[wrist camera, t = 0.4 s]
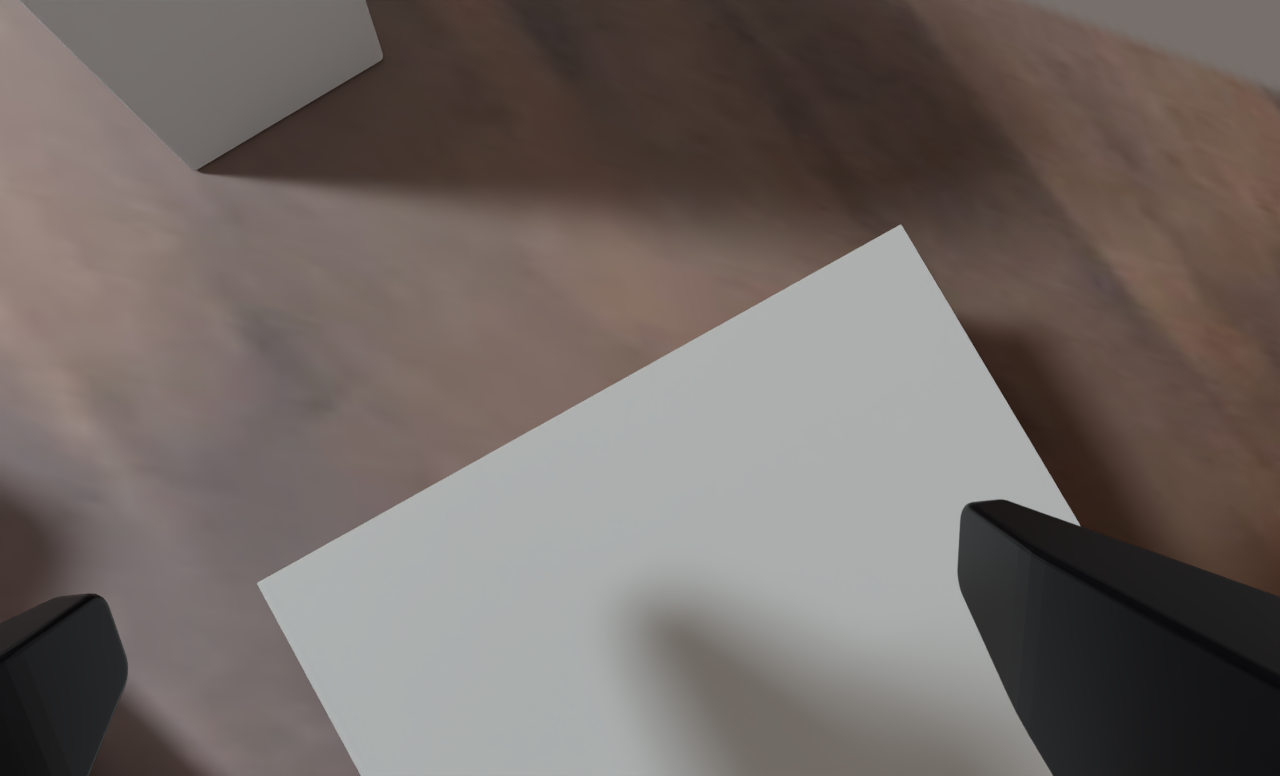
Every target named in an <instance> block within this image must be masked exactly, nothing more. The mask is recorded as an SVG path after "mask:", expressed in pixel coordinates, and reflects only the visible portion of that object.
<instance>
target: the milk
mask: <svg viewBox="0 0 1280 776" xmlns="http://www.w3.org/2000/svg"><path fill="white" fill-rule="evenodd" d="M19 1H20V2H21V3H22V4H23V5H24V6H25V7H26V8H27V9H28V10H29V11H30V12H31V13H32V14H33V15H34V16H35V17H36V18H37V19H38V20H39V21H40V22H41V23H42V24H43V25H44V26H45V27H46V28H47V29H48V30H49V31H50V32H51V33H52V34H53V35H54V36H55V37H56V38H57V39H59V40H60V41H61V42H62V43H63V44H64V45H65V46H66V47H67V48H68V49H69V50H70V51H71V52H72V53H73V54H74V55H75V56H76V57H77V58H78V59H79V60H80V61H81V62H82V63H83V64H84V65H85V66H86V67H87V68H88V69H89V70H90V71H91V72H92V73H93V74H94V75H95V76H96V77H97V78H98V79H99V80H100V81H101V82H102V83H103V84H104V85H105V86H106V87H107V88H108V89H109V90H110V91H111V92H112V93H113V94H115V95H116V96H117V97H118V98H119V99H120V100H121V101H122V102H123V103H124V104H125V105H126V106H127V107H128V108H129V109H130V110H131V111H132V112H133V113H134V114H135V115H136V116H137V117H138V118H139V119H140V120H141V121H142V122H143V123H144V124H145V125H146V126H147V127H148V128H149V129H150V130H151V131H152V132H153V133H154V134H155V135H156V136H157V137H158V138H159V139H160V140H161V141H162V142H163V143H164V144H165V145H166V146H167V147H168V148H170V149H171V150H172V151H173V152H174V153H175V154H176V155H177V156H178V157H179V158H180V159H181V160H182V161H183V162H184V163H185V164H186V165H187V166H188V167H189V168H190V169H192V170H197V169H199V168H201V167H203V166H204V165H206V164H208V163H209V162H211V161H213V160H214V159H216V158H218V157H219V156H221V155H223V154H225V153H226V152H228V151H230V150H231V149H233V148H235V147H236V146H238V145H240V144H241V143H243V142H245V141H246V140H248V139H250V138H251V137H253V136H255V135H256V134H258V133H260V132H262V131H263V130H265V129H267V128H268V127H270V126H272V125H273V124H275V123H277V122H278V121H280V120H282V119H283V118H285V117H287V116H288V115H290V114H292V113H294V112H295V111H297V110H299V109H300V108H302V107H304V106H305V105H307V104H309V103H310V102H312V101H314V100H315V99H317V98H319V97H320V96H322V95H324V94H326V93H327V92H329V91H331V90H332V89H334V88H336V87H337V86H339V85H341V84H342V83H344V82H346V81H347V80H349V79H351V78H352V77H354V76H356V75H357V74H359V73H361V72H363V71H364V70H366V69H368V68H369V67H371V66H373V65H374V64H376V63H378V62H379V61H381V60H382V59H383V53H382V50H381V47H380V44H379V40H378V37H377V34H376V31H375V28H374V25H373V22H372V19H371V16H370V13H369V10H368V7H367V3H366V0H19Z"/></svg>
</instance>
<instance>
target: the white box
mask: <svg viewBox="0 0 1280 776" xmlns="http://www.w3.org/2000/svg"><path fill="white" fill-rule="evenodd" d="M996 499H1004V500H1008V501H1010V502H1013V503H1016V504H1019V505H1022V506H1024V507H1027V508H1030V509H1033V510H1036V511H1039V512H1041V513H1044V514H1047V515H1050V516H1053V517H1056V518H1058V519H1061V520H1064V521H1067V522H1070V523H1073V524H1075V525H1078V526H1080V524H1079V522H1078V521H1077V519H1076V517H1075V516H1074V514H1073V512H1072V511H1071V509H1070V507H1069V506H1068V504H1067V502H1066V500H1065V499H1064V497H1063V495H1062V494H1061V492H1060V490H1059V489H1058V487H1057V485H1056V484H1055V482H1054V480H1053V479H1052V477H1051V475H1050V474H1049V472H1048V470H1047V469H1046V467H1045V465H1044V464H1043V462H1042V460H1041V458H1040V457H1039V455H1038V453H1037V452H1036V450H1035V448H1034V447H1033V445H1032V443H1031V442H1030V440H1029V438H1028V437H1027V435H1026V433H1025V432H1024V430H1023V428H1022V427H1021V425H1020V423H1019V422H1018V420H1017V418H1016V417H1015V415H1014V413H1013V411H1012V410H1011V408H1010V406H1009V405H1008V403H1007V401H1006V400H1005V398H1004V396H1003V395H1002V393H1001V391H1000V390H999V388H998V386H997V385H996V383H995V381H994V380H993V378H992V376H991V375H990V373H989V371H988V370H987V368H986V366H985V364H984V363H983V361H982V359H981V358H980V356H979V354H978V353H977V351H976V349H975V348H974V346H973V344H972V343H971V341H970V339H969V338H968V336H967V334H966V333H965V331H964V329H963V328H962V326H961V324H960V322H959V321H958V319H957V317H956V316H955V314H954V312H953V311H952V309H951V307H950V306H949V304H948V302H947V301H946V299H945V297H944V296H943V294H942V292H941V291H940V289H939V287H938V286H937V284H936V282H935V281H934V279H933V277H932V275H931V274H930V272H929V270H928V269H927V267H926V265H925V264H924V262H923V260H922V259H921V257H920V255H919V254H918V252H917V250H916V249H915V247H914V245H913V244H912V242H911V240H910V239H909V237H908V235H907V234H906V232H905V230H904V228H903V227H902V225H899V226H897V227H895V228H893V229H892V230H890V231H888V232H886V233H884V234H883V235H881V236H879V237H877V238H875V239H874V240H872V241H870V242H868V243H866V244H865V245H863V246H861V247H859V248H858V249H856V250H854V251H852V252H850V253H849V254H847V255H845V256H843V257H841V258H840V259H838V260H836V261H834V262H832V263H831V264H829V265H827V266H825V267H823V268H822V269H820V270H818V271H816V272H814V273H813V274H811V275H809V276H807V277H805V278H804V279H802V280H800V281H798V282H797V283H795V284H793V285H791V286H789V287H788V288H786V289H784V290H782V291H780V292H779V293H777V294H775V295H773V296H771V297H770V298H768V299H766V300H764V301H762V302H761V303H759V304H757V305H755V306H753V307H752V308H750V309H748V310H746V311H744V312H743V313H741V314H739V315H737V316H735V317H734V318H732V319H730V320H728V321H727V322H725V323H723V324H721V325H719V326H718V327H716V328H714V329H712V330H710V331H709V332H707V333H705V334H703V335H701V336H700V337H698V338H696V339H694V340H692V341H691V342H689V343H687V344H685V345H683V346H682V347H680V348H678V349H676V350H674V351H673V352H671V353H669V354H667V355H665V356H664V357H662V358H660V359H658V360H657V361H655V362H653V363H651V364H649V365H648V366H646V367H644V368H642V369H640V370H639V371H637V372H635V373H633V374H631V375H630V376H628V377H626V378H624V379H622V380H621V381H619V382H617V383H615V384H613V385H612V386H610V387H608V388H606V389H604V390H603V391H601V392H599V393H597V394H595V395H594V396H592V397H590V398H588V399H587V400H585V401H583V402H581V403H579V404H578V405H576V406H574V407H572V408H570V409H569V410H567V411H565V412H563V413H561V414H560V415H558V416H556V417H554V418H552V419H551V420H549V421H547V422H545V423H543V424H542V425H540V426H538V427H536V428H534V429H533V430H531V431H529V432H527V433H526V434H524V435H522V436H520V437H518V438H517V439H515V440H513V441H511V442H509V443H508V444H506V445H504V446H502V447H500V448H499V449H497V450H495V451H493V452H491V453H490V454H488V455H486V456H484V457H482V458H481V459H479V460H477V461H475V462H473V463H472V464H470V465H468V466H466V467H464V468H463V469H461V470H459V471H457V472H456V473H454V474H452V475H450V476H448V477H447V478H445V479H443V480H441V481H439V482H438V483H436V484H434V485H432V486H430V487H429V488H427V489H425V490H423V491H421V492H420V493H418V494H416V495H414V496H412V497H411V498H409V499H407V500H405V501H403V502H402V503H400V504H398V505H396V506H394V507H393V508H391V509H389V510H387V511H386V512H384V513H382V514H380V515H378V516H377V517H375V518H373V519H371V520H369V521H368V522H366V523H364V524H362V525H360V526H359V527H357V528H355V529H353V530H351V531H350V532H348V533H346V534H344V535H342V536H341V537H339V538H337V539H335V540H333V541H332V542H330V543H328V544H326V545H324V546H323V547H321V548H319V549H317V550H316V551H314V552H312V553H310V554H308V555H307V556H305V557H303V558H301V559H299V560H298V561H296V562H294V563H292V564H290V565H289V566H287V567H285V568H283V569H281V570H280V571H278V572H276V573H274V574H272V575H271V576H269V577H267V578H265V579H263V580H262V581H260V582H258V583H257V585H258V586H259V588H260V590H261V592H262V594H263V596H264V598H265V599H266V601H267V603H268V605H269V607H270V609H271V610H272V612H273V614H274V616H275V618H276V620H277V622H278V623H279V625H280V627H281V629H282V631H283V633H284V635H285V636H286V638H287V640H288V642H289V644H290V646H291V647H292V649H293V651H294V653H295V655H296V657H297V659H298V660H299V662H300V664H301V666H302V668H303V670H304V671H305V673H306V675H307V677H308V679H309V681H310V683H311V684H312V686H313V688H314V690H315V692H316V694H317V695H318V697H319V699H320V701H321V703H322V705H323V707H324V708H325V710H326V712H327V714H328V716H329V718H330V719H331V721H332V723H333V725H334V727H335V729H336V731H337V732H338V734H339V736H340V738H341V740H342V742H343V743H344V745H345V747H346V749H347V751H348V753H349V755H350V756H351V758H352V760H353V762H354V764H355V766H356V767H357V769H358V771H359V773H360V775H361V776H1053V775H1052V773H1051V772H1050V770H1049V768H1048V767H1047V765H1046V763H1045V762H1044V760H1043V758H1042V757H1041V755H1040V753H1039V752H1038V750H1037V748H1036V747H1035V745H1034V743H1033V742H1032V740H1031V738H1030V737H1029V735H1028V733H1027V731H1026V730H1025V728H1024V726H1023V724H1022V722H1021V721H1020V719H1019V717H1018V715H1017V714H1016V711H1015V709H1014V707H1013V705H1012V703H1011V701H1010V699H1009V697H1008V695H1007V693H1006V691H1005V689H1004V686H1003V684H1002V682H1001V680H1000V677H999V675H998V673H997V671H996V669H995V666H994V664H993V662H992V660H991V658H990V655H989V653H988V651H987V649H986V646H985V644H984V642H983V640H982V638H981V635H980V633H979V631H978V629H977V627H976V624H975V622H974V620H973V618H972V615H971V613H970V611H969V609H968V607H967V604H966V602H965V600H964V598H963V596H962V593H961V590H960V587H959V582H958V575H957V565H958V548H959V530H960V516H961V513H962V510H963V508H964V506H965V505H966V504H967V503H971V502H977V501H986V500H996Z"/></svg>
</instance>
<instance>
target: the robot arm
mask: <svg viewBox="0 0 1280 776" xmlns="http://www.w3.org/2000/svg"><path fill="white" fill-rule="evenodd" d="M957 575H958V582H959V587H960V590H961V593H962V596H963V598H964V600H965V602H966V604H967V607H968V609H969V611H970V613H971V615H972V618H973V620H974V622H975V624H976V627H977V629H978V631H979V633H980V635H981V638H982V640H983V642H984V644H985V646H986V649H987V651H988V653H989V655H990V658H991V660H992V662H993V664H994V666H995V669H996V671H997V673H998V675H999V677H1000V680H1001V682H1002V684H1003V686H1004V689H1005V691H1006V693H1007V695H1008V697H1009V699H1010V701H1011V703H1012V705H1013V707H1014V709H1015V711H1016V714H1017V715H1018V717H1019V719H1020V721H1021V722H1022V724H1023V726H1024V728H1025V730H1026V731H1027V733H1028V735H1029V737H1030V738H1031V740H1032V742H1033V743H1034V745H1035V747H1036V748H1037V750H1038V752H1039V753H1040V755H1041V757H1042V758H1043V760H1044V762H1045V763H1046V765H1047V767H1048V768H1049V770H1050V772H1051V773H1052V775H1053V776H1280V597H1279V596H1276V595H1273V594H1270V593H1267V592H1265V591H1262V590H1259V589H1256V588H1253V587H1250V586H1248V585H1245V584H1242V583H1239V582H1236V581H1234V580H1231V579H1228V578H1225V577H1222V576H1219V575H1217V574H1214V573H1211V572H1208V571H1205V570H1202V569H1200V568H1197V567H1194V566H1191V565H1188V564H1185V563H1183V562H1180V561H1177V560H1174V559H1171V558H1169V557H1166V556H1163V555H1160V554H1157V553H1154V552H1152V551H1149V550H1146V549H1143V548H1140V547H1137V546H1135V545H1132V544H1129V543H1126V542H1123V541H1121V540H1118V539H1115V538H1112V537H1109V536H1106V535H1104V534H1101V533H1098V532H1095V531H1092V530H1089V529H1087V528H1084V527H1081V526H1078V525H1075V524H1073V523H1070V522H1067V521H1064V520H1061V519H1058V518H1056V517H1053V516H1050V515H1047V514H1044V513H1041V512H1039V511H1036V510H1033V509H1030V508H1027V507H1024V506H1022V505H1019V504H1016V503H1013V502H1010V501H1008V500H1004V499H996V500H986V501H977V502H971V503H967V504H966V505H965V506H964V508H963V510H962V513H961V516H960V530H959V548H958V565H957ZM127 675H128V662H127V657H126V654H125V651H124V648H123V645H122V642H121V640H120V637H119V634H118V631H117V628H116V625H115V622H114V619H113V617H112V614H111V611H110V608H109V606H108V604H107V602H106V601H105V600H104V598H103V597H101V596H99V595H97V594H80V595H70V596H61V597H56V598H53V599H51V600H48V601H46V602H44V603H42V604H40V605H38V606H36V607H34V608H32V609H30V610H28V611H25V612H23V613H21V614H19V615H17V616H15V617H13V618H11V619H9V620H7V621H5V622H3V623H0V776H89V774H90V771H91V769H92V766H93V764H94V761H95V759H96V757H97V754H98V752H99V749H100V747H101V744H102V742H103V739H104V737H105V734H106V732H107V729H108V727H109V724H110V722H111V719H112V717H113V714H114V712H115V709H116V707H117V704H118V702H119V700H120V697H121V695H122V692H123V690H124V687H125V684H126V681H127Z"/></svg>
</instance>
